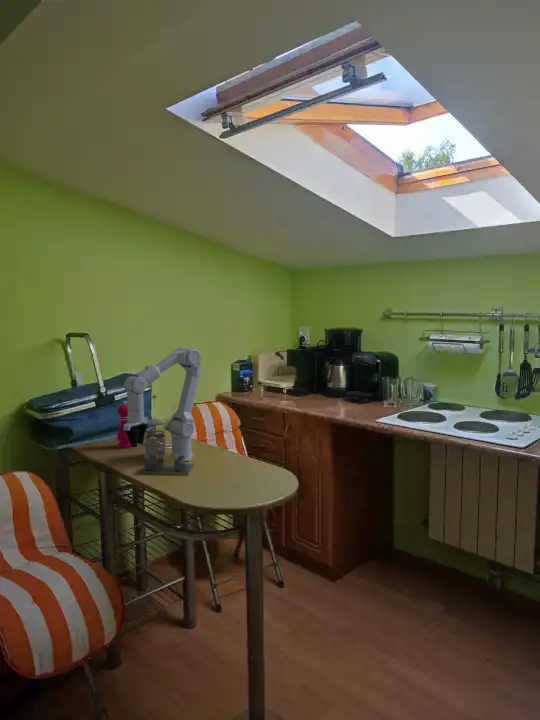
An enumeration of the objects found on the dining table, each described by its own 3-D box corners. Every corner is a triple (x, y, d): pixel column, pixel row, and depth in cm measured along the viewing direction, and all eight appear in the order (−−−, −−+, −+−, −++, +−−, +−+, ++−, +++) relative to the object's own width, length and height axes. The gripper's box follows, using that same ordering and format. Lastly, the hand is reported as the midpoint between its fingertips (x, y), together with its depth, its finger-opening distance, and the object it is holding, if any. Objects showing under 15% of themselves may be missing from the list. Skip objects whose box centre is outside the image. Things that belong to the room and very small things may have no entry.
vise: (152, 465, 203) (151, 454, 202) (193, 466, 202) (193, 454, 201) (144, 474, 193) (143, 462, 192) (187, 475, 192) (187, 462, 191)
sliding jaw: (154, 460, 206) (154, 451, 205) (159, 460, 205) (159, 451, 205) (145, 470, 194) (145, 460, 194) (150, 470, 194) (150, 460, 194)
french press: (170, 457, 213) (169, 396, 210) (141, 461, 209) (139, 398, 206) (166, 451, 222) (164, 392, 220) (137, 454, 218) (135, 394, 215)
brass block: (166, 466, 199) (166, 453, 198) (177, 466, 199) (176, 453, 198) (163, 469, 195) (163, 456, 195) (174, 469, 195) (174, 456, 194)
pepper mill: (116, 445, 231) (114, 400, 229) (133, 443, 234) (131, 399, 232) (118, 449, 225) (117, 403, 223) (136, 447, 228) (134, 401, 226)
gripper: (135, 413, 187) (137, 451, 189) (154, 405, 201) (155, 440, 203) (117, 412, 189) (119, 449, 191) (137, 404, 203) (139, 439, 205)
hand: (136, 445), depth 197 cm, fingers open, 4 cm apart
